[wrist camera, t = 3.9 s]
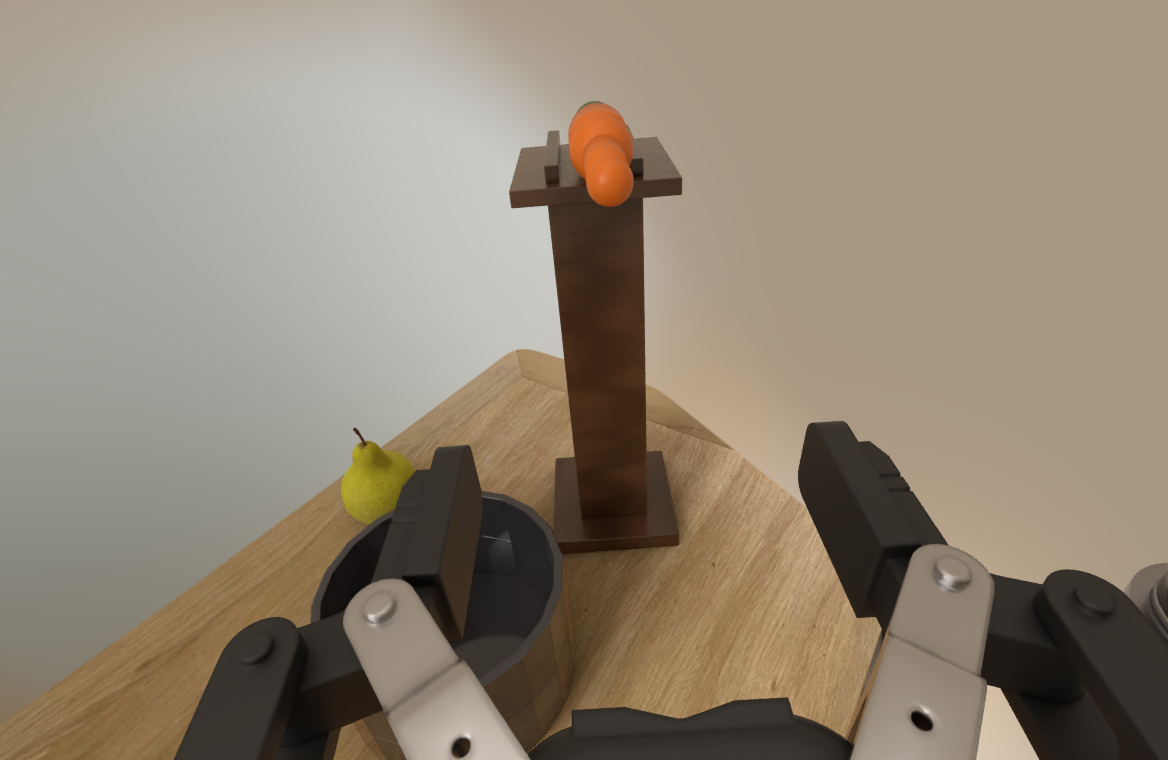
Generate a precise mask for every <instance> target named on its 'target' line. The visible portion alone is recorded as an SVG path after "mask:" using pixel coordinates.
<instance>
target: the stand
mask: <svg viewBox="0 0 1168 760" xmlns="http://www.w3.org/2000/svg"><path fill="white" fill-rule="evenodd" d="M626 126H627V128H628V130H629V132H630V134H631V131H630V129H629V127H628V125H626ZM631 136H632V134H631ZM632 140H633V146H634V152H633V158H632V162H631V164H630V169H631V171H632V174H633V181H634V183H633V189H632V192H631V194H630V196H629V197H628V198H627V200H625V201H624V202H623V203H622V204H620V205H617V206H614V207H605V206H602V205H600V204H598V203H596V202H595V201H594V200H593V199H592V198H591V196H590V195H589V193H588V190H587V185H586V180H585V179H584V178H582V177H581V176H580V175H579V174H578V173H577V171H576V170H575V168H574V167H573V165H572V162H571V159H570V153H569V144H566V145H560V136H559V131H549V132H548V138H547V146H543V147H542V146H541V147H530V148H522V149H521V151H520V155H519V158H518V162H517V166H516V169H515V173H514V176H513V180H512V184H511V187H510V191H509V195H510V202H511V208H522V207H533V206H546V205H548V211H549V221H550V230H551V239H552V249H553V257H554V267H555V277H556V286H557V295H558V303H559V313H560V323H561V332H562V342H563V351H564V360H565V370H566V379H567V388H568V397H569V407H570V416H571V425H572V435H573V444H574V453H575V457H570V458H556V464H555V513H554V535H555V538H556V540H557V543H558V545H559V548H560V550H561V553H575V552H589V551H603V550H618V549H632V548H647V547H661V546H676V545H679V531H678V526H677V522H676V517H675V512H674V507H673V502H672V498H671V493H670V488H669V483H668V479H667V474H666V469H665V464H664V460H663V455H662V451H653V452H646V387H645V317H644V316H645V313H644V243H643V241H644V239H643V198H646V197H659V196H672V195H681V194H682V177H681V175H680V174H679V172H678V170H677V169H676V167H675V166H674V164H673V162H672V161H671V159H670V158H669V156H668V154H667V153H666V151H665V150H664V148H663V146H662V145H661V143H660V142H659V140H658V138H657V137H651V138H640V139H634V138H633V136H632Z"/></svg>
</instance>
